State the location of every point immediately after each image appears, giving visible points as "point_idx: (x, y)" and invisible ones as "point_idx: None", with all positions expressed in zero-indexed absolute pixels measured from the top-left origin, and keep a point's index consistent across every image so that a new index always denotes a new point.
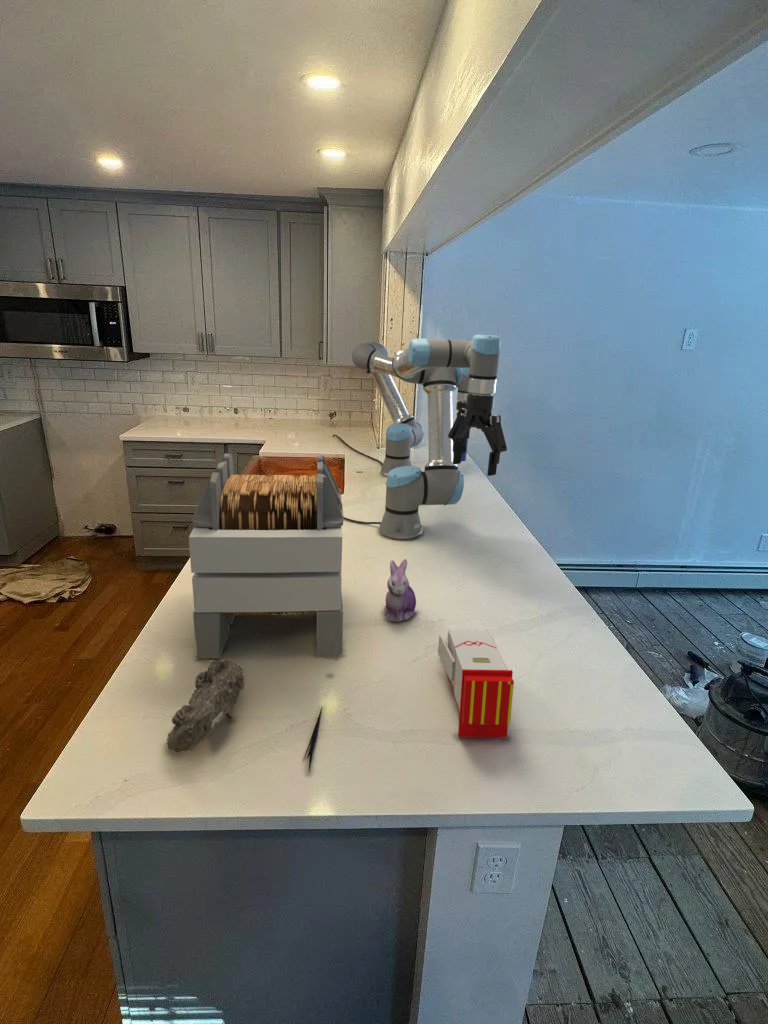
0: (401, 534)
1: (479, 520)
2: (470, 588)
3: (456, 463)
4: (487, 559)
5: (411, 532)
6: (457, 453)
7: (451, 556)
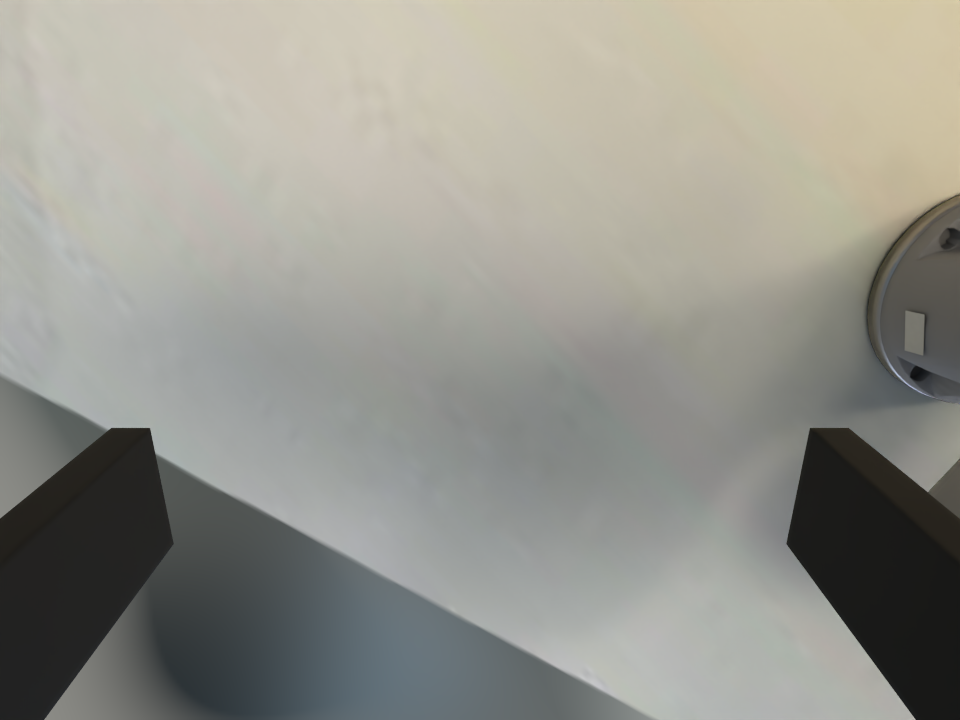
0: (929, 235)
1: (797, 658)
2: (346, 140)
3: (807, 473)
4: (510, 410)
5: (901, 286)
6: (904, 577)
7: (624, 305)
